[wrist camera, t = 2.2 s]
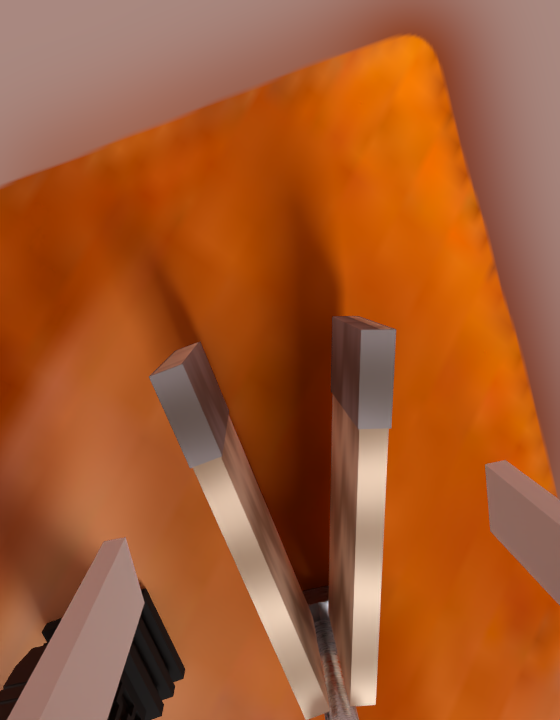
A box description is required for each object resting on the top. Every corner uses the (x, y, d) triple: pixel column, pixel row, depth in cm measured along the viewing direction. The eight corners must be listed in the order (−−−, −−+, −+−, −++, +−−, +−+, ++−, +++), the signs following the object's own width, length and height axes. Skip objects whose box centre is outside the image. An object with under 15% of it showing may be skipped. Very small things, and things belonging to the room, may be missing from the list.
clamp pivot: (355, 634, 34) (403, 798, 24) (294, 647, 34) (315, 818, 23) (346, 581, 33) (392, 727, 22) (283, 595, 33) (300, 748, 22)
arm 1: (349, 610, 32) (377, 706, 25) (326, 611, 31) (348, 708, 24) (358, 316, 27) (395, 329, 20) (332, 316, 27) (361, 330, 20)
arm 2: (313, 614, 31) (332, 712, 24) (292, 622, 31) (304, 722, 24) (200, 341, 27) (182, 364, 20) (175, 350, 27) (149, 376, 20)
